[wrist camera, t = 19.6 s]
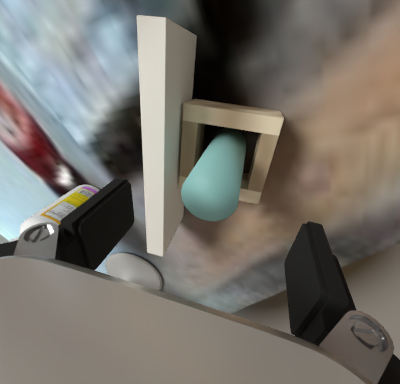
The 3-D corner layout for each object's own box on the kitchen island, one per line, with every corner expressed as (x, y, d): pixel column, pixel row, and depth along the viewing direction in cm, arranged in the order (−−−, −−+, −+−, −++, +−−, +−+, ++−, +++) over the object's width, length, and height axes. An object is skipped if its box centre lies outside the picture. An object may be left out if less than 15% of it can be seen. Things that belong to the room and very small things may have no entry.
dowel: (250, 130, 23) (244, 177, 13) (242, 164, 25) (232, 226, 15) (214, 125, 24) (182, 165, 14) (210, 158, 26) (179, 214, 16)
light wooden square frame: (279, 111, 21) (284, 118, 18) (258, 187, 26) (258, 204, 22) (194, 98, 23) (183, 103, 19) (188, 173, 27) (178, 187, 24)
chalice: (160, 251, 36) (109, 347, 24) (172, 301, 43) (137, 396, 31) (93, 243, 40) (17, 323, 27) (113, 290, 47) (60, 372, 34)
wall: (196, 35, 20) (165, 17, 13) (183, 216, 31) (162, 256, 25) (176, 33, 20) (136, 15, 13) (170, 214, 32) (147, 252, 25)
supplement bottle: (87, 218, 37) (16, 279, 26) (69, 184, 34) (-20, 238, 23) (119, 216, 35) (56, 282, 24) (102, 181, 32) (21, 237, 21)
